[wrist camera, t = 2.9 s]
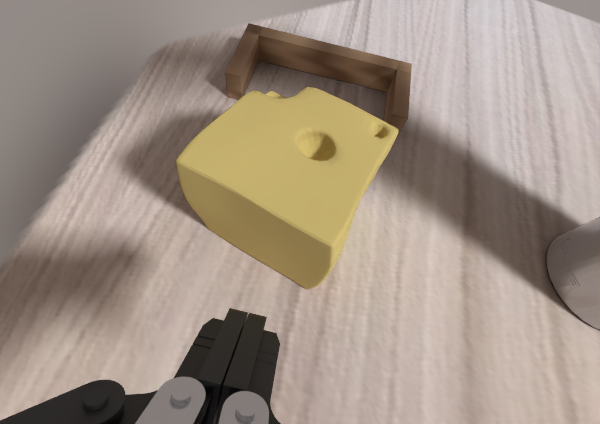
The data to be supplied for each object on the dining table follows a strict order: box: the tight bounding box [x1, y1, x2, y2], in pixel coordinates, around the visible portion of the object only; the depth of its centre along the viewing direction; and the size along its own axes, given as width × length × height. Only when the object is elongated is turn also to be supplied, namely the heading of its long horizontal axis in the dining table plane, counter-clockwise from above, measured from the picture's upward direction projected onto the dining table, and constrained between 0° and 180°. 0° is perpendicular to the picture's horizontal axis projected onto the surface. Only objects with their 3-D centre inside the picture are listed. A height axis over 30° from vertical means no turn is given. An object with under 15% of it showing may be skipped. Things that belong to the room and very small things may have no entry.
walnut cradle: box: [225, 24, 412, 136], centre depth 33 cm, size 18×8×3 cm, turn 78°
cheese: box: [176, 87, 398, 290], centre depth 23 cm, size 10×11×10 cm
